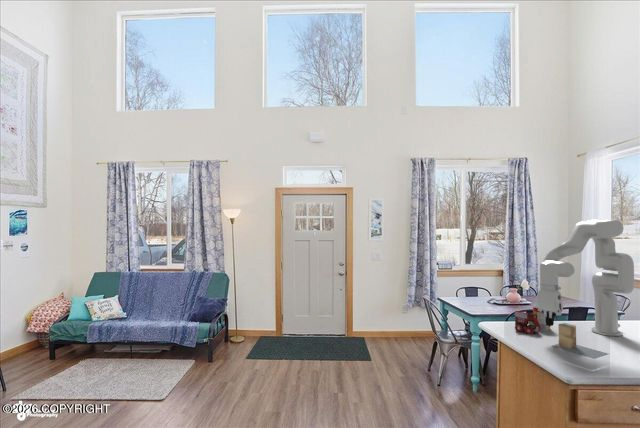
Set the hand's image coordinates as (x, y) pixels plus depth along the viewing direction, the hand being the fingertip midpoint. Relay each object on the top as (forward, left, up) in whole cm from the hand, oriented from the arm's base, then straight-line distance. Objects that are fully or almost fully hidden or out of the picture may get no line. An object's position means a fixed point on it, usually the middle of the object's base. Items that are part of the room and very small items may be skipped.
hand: (549, 325), depth 176 cm
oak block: (0, +8, -8) cm, 11 cm away
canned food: (-18, -15, -8) cm, 25 cm away
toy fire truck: (-5, -15, -8) cm, 18 cm away
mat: (0, +13, -8) cm, 15 cm away
